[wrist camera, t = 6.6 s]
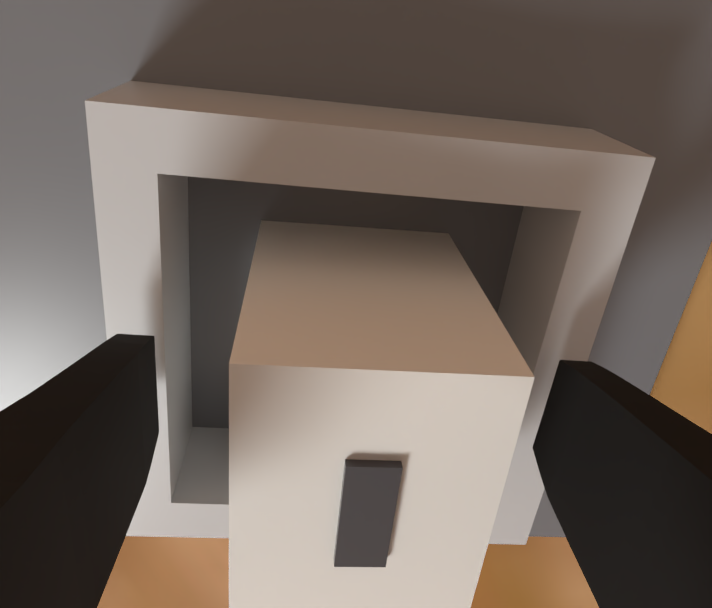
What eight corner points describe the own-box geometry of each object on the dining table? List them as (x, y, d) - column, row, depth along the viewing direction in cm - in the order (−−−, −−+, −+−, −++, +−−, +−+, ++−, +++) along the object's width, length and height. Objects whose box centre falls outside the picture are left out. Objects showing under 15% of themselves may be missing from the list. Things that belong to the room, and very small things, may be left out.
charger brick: (448, 233, 13) (539, 383, 8) (415, 419, 15) (468, 629, 10) (261, 220, 12) (228, 370, 7) (256, 413, 15) (227, 630, 9)
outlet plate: (767, 11, 12) (926, 15, 9) (578, 511, 18) (633, 615, 15) (-70, -100, 10) (-235, -145, 7) (36, 496, 17) (-27, 610, 13)
